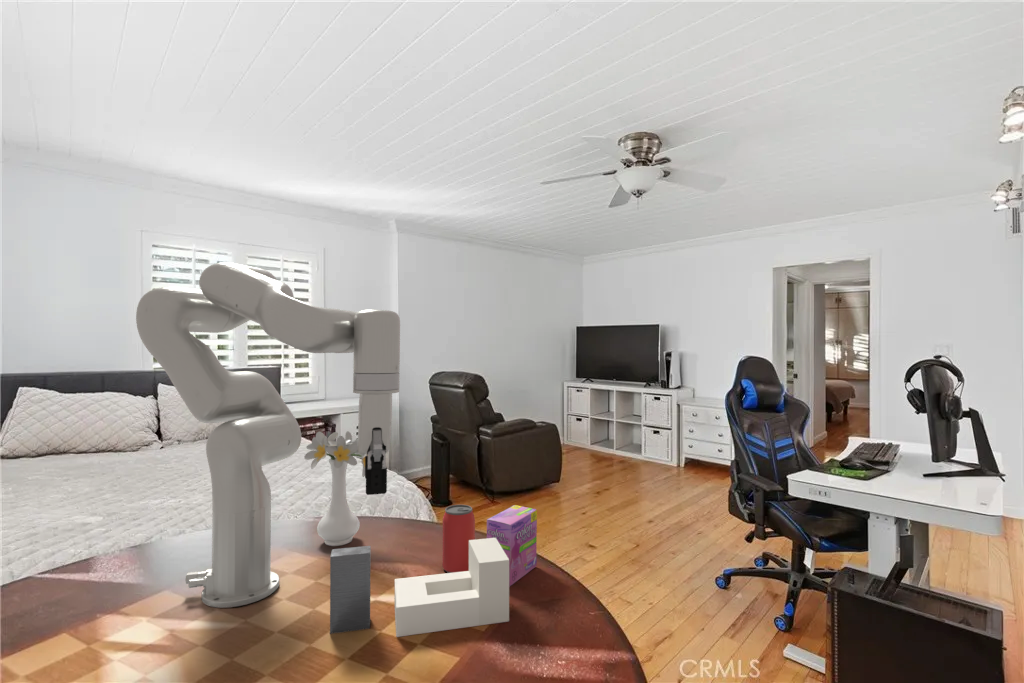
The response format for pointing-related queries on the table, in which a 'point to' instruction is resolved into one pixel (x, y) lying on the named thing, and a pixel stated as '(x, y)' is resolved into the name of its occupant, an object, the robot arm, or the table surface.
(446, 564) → the beer can
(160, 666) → the table surface
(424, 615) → the post block
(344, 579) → the gray rectangular block
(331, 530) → the flower vase
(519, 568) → the box
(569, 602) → the table surface
